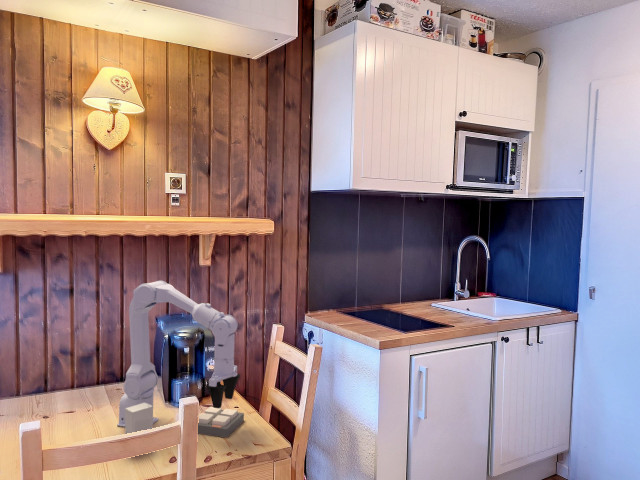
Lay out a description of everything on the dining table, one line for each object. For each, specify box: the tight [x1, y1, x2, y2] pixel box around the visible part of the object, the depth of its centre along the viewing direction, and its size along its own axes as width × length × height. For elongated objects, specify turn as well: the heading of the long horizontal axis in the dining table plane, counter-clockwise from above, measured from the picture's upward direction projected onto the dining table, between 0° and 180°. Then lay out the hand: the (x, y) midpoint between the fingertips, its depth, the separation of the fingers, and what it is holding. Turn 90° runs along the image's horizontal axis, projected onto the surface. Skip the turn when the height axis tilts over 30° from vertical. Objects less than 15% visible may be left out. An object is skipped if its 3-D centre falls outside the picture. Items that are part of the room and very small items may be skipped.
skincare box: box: [124, 402, 154, 435], centre depth 128 cm, size 6×4×12 cm
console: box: [197, 409, 245, 438], centre depth 145 cm, size 12×12×3 cm
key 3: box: [212, 415, 230, 427], centre depth 142 cm, size 4×4×2 cm
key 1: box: [198, 412, 214, 424], centre depth 143 cm, size 4×4×2 cm
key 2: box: [203, 406, 223, 417], centre depth 148 cm, size 4×4×2 cm
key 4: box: [220, 408, 239, 420], centre depth 147 cm, size 4×4×2 cm
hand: (223, 403), depth 139 cm, fingers open, 7 cm apart
